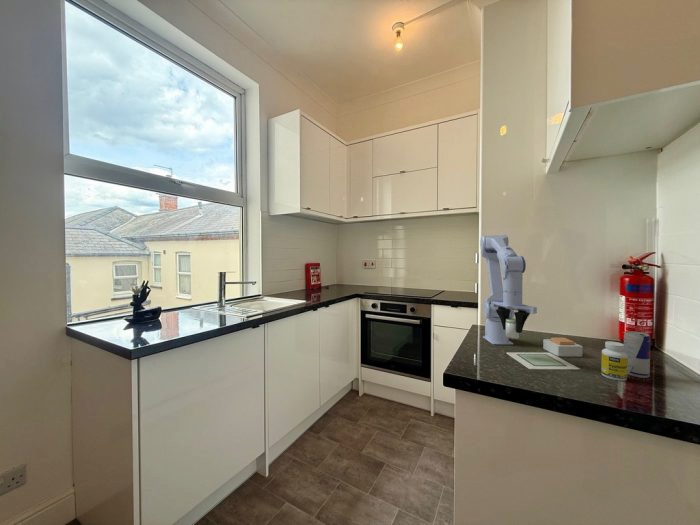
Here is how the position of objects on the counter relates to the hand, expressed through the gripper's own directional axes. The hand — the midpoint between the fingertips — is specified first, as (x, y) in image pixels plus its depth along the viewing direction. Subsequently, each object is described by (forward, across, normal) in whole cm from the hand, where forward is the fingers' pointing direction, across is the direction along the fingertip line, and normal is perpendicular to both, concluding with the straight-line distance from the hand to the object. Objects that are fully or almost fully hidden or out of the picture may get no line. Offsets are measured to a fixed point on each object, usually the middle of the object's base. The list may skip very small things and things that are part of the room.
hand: (512, 330), depth 96 cm
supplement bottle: (+9, +24, +9) cm, 27 cm away
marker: (+2, 0, 0) cm, 2 cm away
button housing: (+9, +7, +19) cm, 22 cm away
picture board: (+9, +7, +4) cm, 12 cm away
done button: (+7, +7, +19) cm, 21 cm away
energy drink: (+9, +27, +16) cm, 33 cm away
